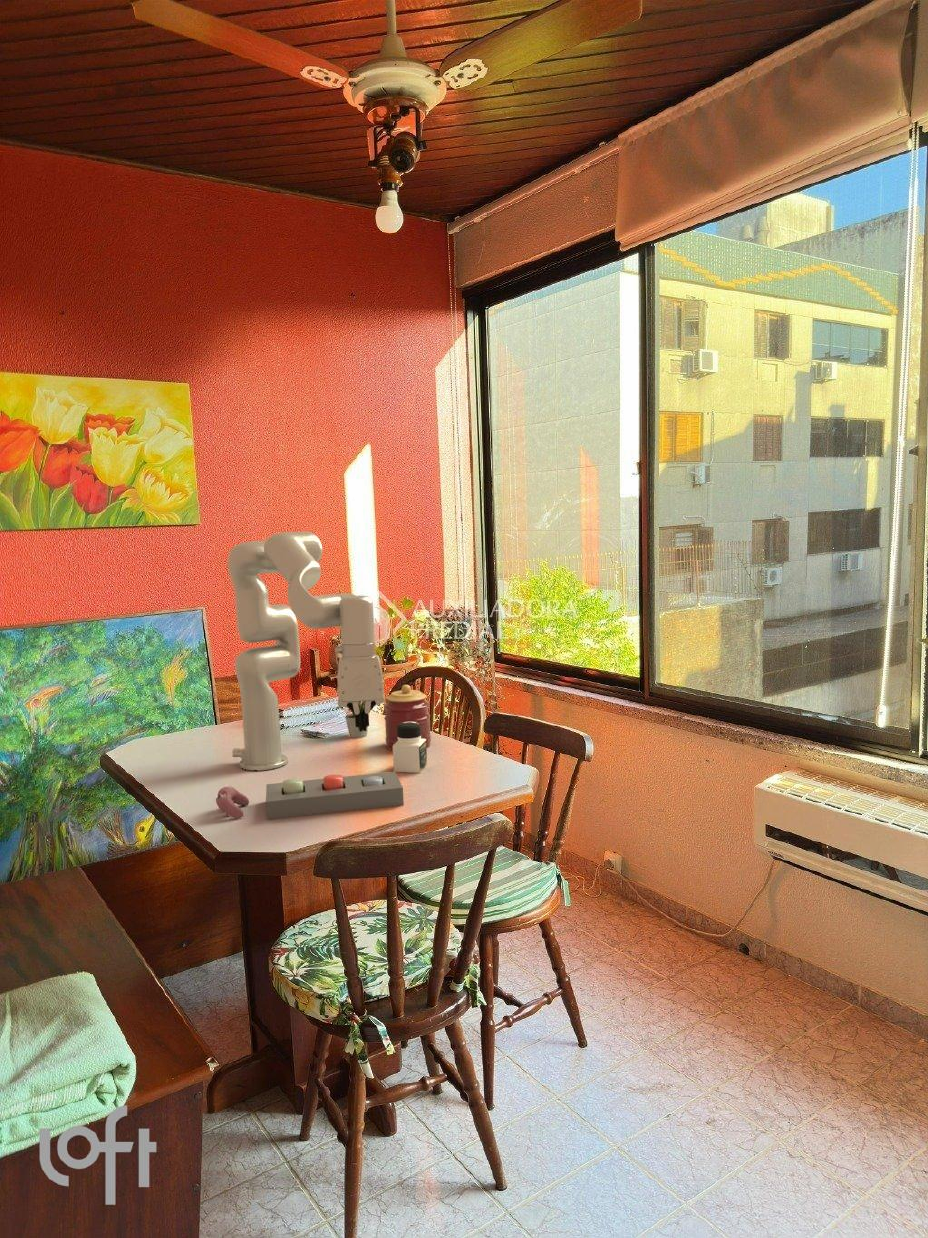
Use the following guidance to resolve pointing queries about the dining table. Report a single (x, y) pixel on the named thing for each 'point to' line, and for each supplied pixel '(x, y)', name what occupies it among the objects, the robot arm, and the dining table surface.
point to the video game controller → (231, 801)
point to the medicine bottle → (409, 749)
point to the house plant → (351, 725)
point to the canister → (406, 713)
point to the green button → (293, 786)
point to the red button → (333, 782)
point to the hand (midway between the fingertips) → (362, 729)
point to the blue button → (372, 781)
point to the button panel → (334, 796)
